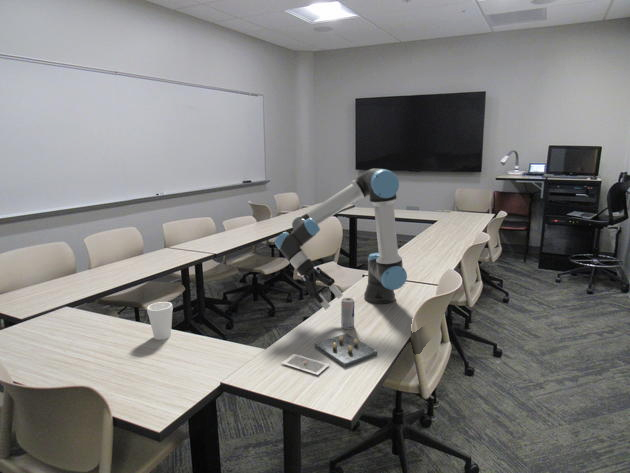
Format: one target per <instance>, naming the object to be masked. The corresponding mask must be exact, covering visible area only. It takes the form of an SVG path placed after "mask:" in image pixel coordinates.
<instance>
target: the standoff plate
mask: <svg viewBox="0 0 630 473" xmlns="http://www.w3.org/2000/svg"><path fill="white" fill-rule="evenodd" d="M314 348H315V349H316V350H318V351H320V353H323V354H324V355H326V356H327V357H328V358H330V359H331V360H332V361H334V362H335V363H337V364H338V365H340V366H341V367H343V368H347V367H349V366H352V365H354V364H358V363H360V362H363V361H366V360H368V359H370V358H373V357H376V356H377V355H378V351H377V350H376V349H375V348H372V347H370V346H369V345H367V344H365V343H363V342H361V341H360V340H359V339H358V338H355V337H353V336H351V335H349V334H348V333H344V334H341V335H338V336H335V337H332V338H329V339H326V340H323V341H320V342H316V343H314Z"/></svg>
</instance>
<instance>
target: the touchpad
mask: <svg viewBox="0 0 630 473" xmlns="http://www.w3.org/2000/svg"><path fill="white" fill-rule="evenodd" d="M281 364H282V365H285V366H289V367H293V368H295V369H299V370H302V371H304V372H308V373H310V374H314V375H317V376H319V374H321V373H322V372H323V371H324V370H325V369H327V368H328V366H330V364H329V363H326V362H323V361H319V360H317V359H313V358H309V357H307V356H303V355H301V354H296V353H293V354H291V355H290V356H289V357H287V358H286V359H285V360H283V361H282V362H281Z"/></svg>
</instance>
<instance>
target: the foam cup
mask: <svg viewBox="0 0 630 473" xmlns="http://www.w3.org/2000/svg"><path fill="white" fill-rule="evenodd" d="M173 309H174V307H173V304H172V302H170V301H169V302H168V301H159V302H154V303H151V304H149V305H148V306H147V308H146V310H147V312H146V313H147V315H148V319H149V322H150V326H151V327H150V328H151V331H152V335H153V338H154V339H155V340H158V341H163V340H167V339H169V338H170V337H172V325H173V324H172V322H173Z"/></svg>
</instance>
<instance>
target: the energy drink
mask: <svg viewBox="0 0 630 473" xmlns="http://www.w3.org/2000/svg"><path fill="white" fill-rule="evenodd" d="M340 306H341V309H340V310H341V311H340V312H341V314H340V317H341V319H340V320H341V322H340V323H341V325H340V326H341V328H342V329H343V330H352V329H354V328H355V300H354V299H353V298H351V297H345V298H342V299H341V303H340Z"/></svg>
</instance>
